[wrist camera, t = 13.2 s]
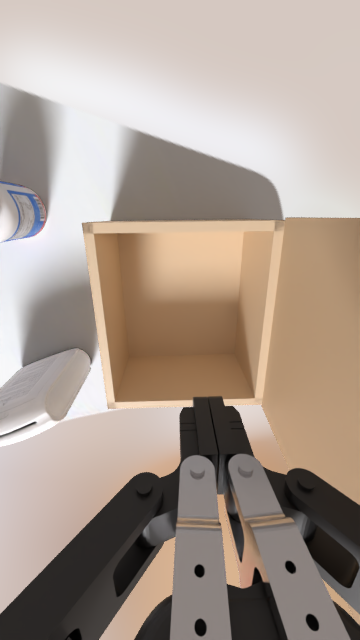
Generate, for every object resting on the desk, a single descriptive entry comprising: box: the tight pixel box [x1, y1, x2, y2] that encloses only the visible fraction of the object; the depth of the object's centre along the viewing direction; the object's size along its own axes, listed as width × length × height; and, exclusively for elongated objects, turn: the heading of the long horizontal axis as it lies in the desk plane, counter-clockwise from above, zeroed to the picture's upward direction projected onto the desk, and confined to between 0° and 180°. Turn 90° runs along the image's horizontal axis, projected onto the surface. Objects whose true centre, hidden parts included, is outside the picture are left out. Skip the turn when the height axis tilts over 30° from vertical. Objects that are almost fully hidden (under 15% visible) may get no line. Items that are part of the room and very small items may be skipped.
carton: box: [82, 219, 285, 409], centre depth 28 cm, size 16×18×10 cm
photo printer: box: [0, 348, 91, 446], centre depth 31 cm, size 10×4×12 cm, turn 111°
